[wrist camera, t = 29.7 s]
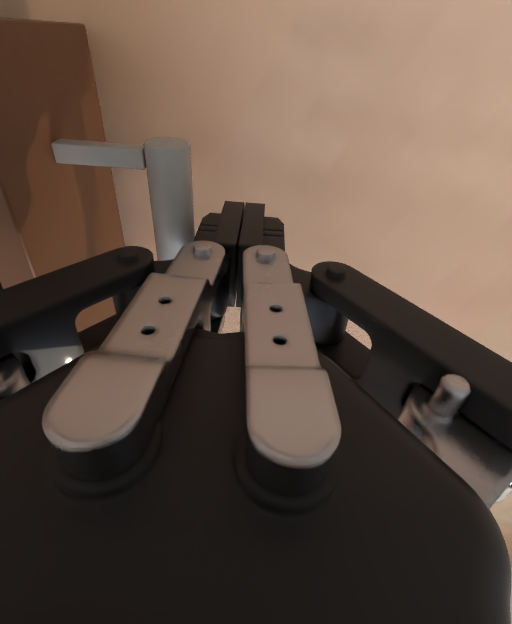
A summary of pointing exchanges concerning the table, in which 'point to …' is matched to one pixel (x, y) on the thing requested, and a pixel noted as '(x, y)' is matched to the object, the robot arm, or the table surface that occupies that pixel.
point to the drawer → (72, 163)
